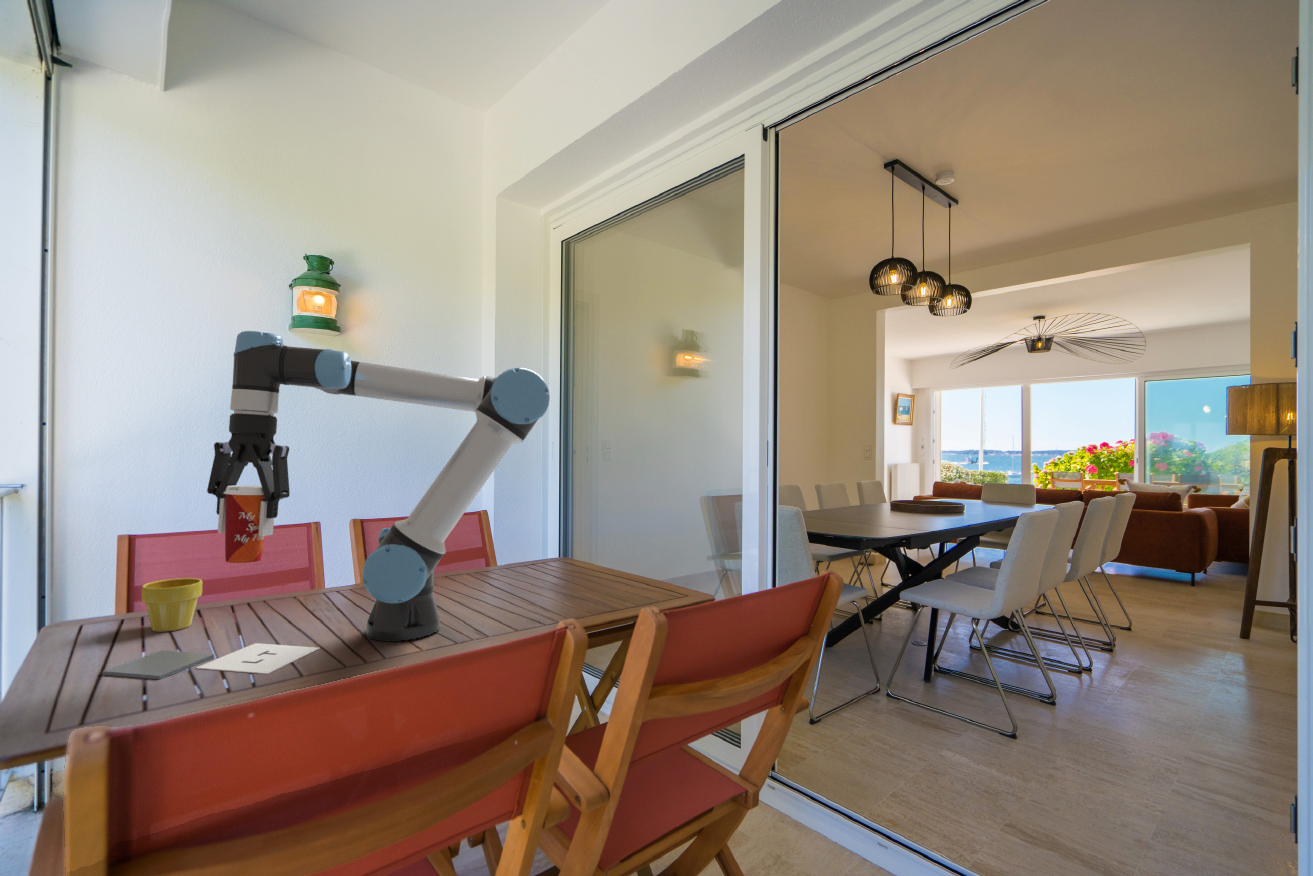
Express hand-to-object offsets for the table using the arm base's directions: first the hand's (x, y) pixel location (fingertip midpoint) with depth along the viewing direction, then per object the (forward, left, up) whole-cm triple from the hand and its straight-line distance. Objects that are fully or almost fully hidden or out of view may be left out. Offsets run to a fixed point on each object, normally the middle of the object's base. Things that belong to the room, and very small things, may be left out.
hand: (245, 533), depth 114 cm
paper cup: (0, 0, -5) cm, 5 cm away
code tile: (-3, -2, -24) cm, 24 cm away
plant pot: (+29, -15, -24) cm, 40 cm away
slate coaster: (+11, +5, -24) cm, 27 cm away
